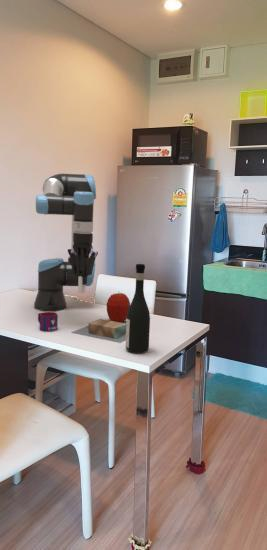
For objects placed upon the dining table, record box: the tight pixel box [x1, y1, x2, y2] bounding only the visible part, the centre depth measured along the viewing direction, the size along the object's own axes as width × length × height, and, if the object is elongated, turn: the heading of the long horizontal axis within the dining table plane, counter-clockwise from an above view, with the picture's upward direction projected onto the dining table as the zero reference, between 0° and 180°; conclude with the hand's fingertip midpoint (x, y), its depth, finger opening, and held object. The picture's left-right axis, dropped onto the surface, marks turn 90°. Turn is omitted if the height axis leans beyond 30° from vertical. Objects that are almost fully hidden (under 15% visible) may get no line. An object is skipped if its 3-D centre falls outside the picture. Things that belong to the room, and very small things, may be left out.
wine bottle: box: [125, 263, 151, 354], centre depth 146 cm, size 8×8×30 cm
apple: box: [105, 292, 131, 323], centre depth 182 cm, size 10×10×14 cm
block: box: [87, 318, 126, 339], centre depth 164 cm, size 4×8×12 cm
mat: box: [71, 325, 126, 344], centre depth 165 cm, size 22×14×1 cm, turn 61°
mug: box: [37, 311, 59, 333], centre depth 168 cm, size 7×10×7 cm
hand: (81, 292), depth 169 cm, fingers closed
